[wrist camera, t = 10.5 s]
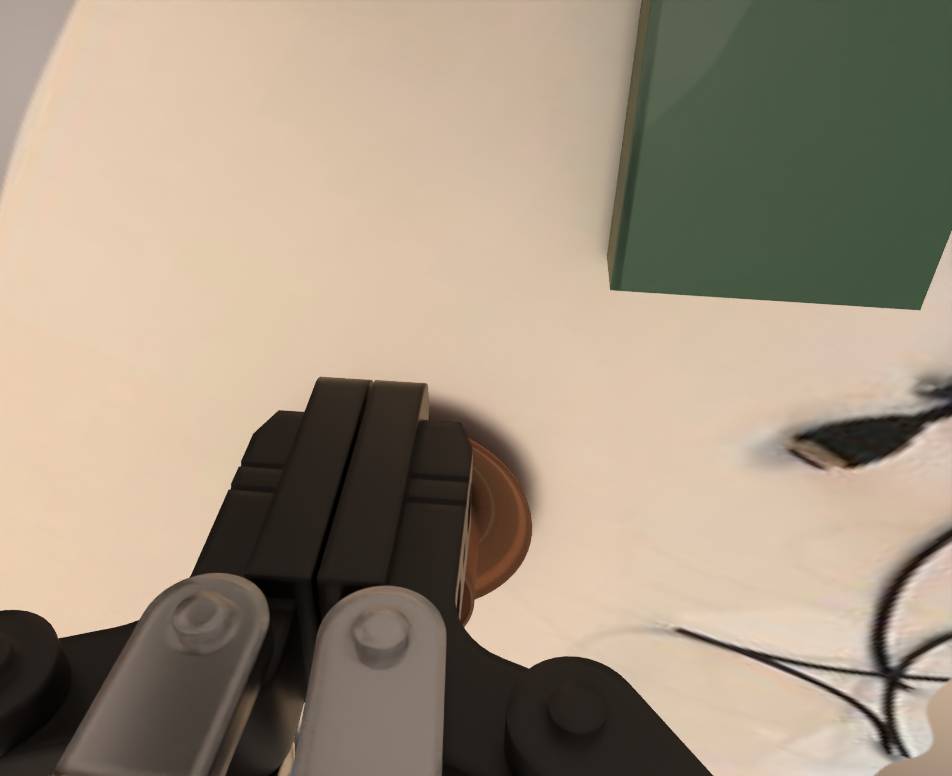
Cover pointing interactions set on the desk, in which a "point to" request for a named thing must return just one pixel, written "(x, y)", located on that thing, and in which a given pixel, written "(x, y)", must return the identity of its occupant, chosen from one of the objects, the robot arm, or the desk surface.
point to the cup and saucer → (493, 528)
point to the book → (787, 151)
